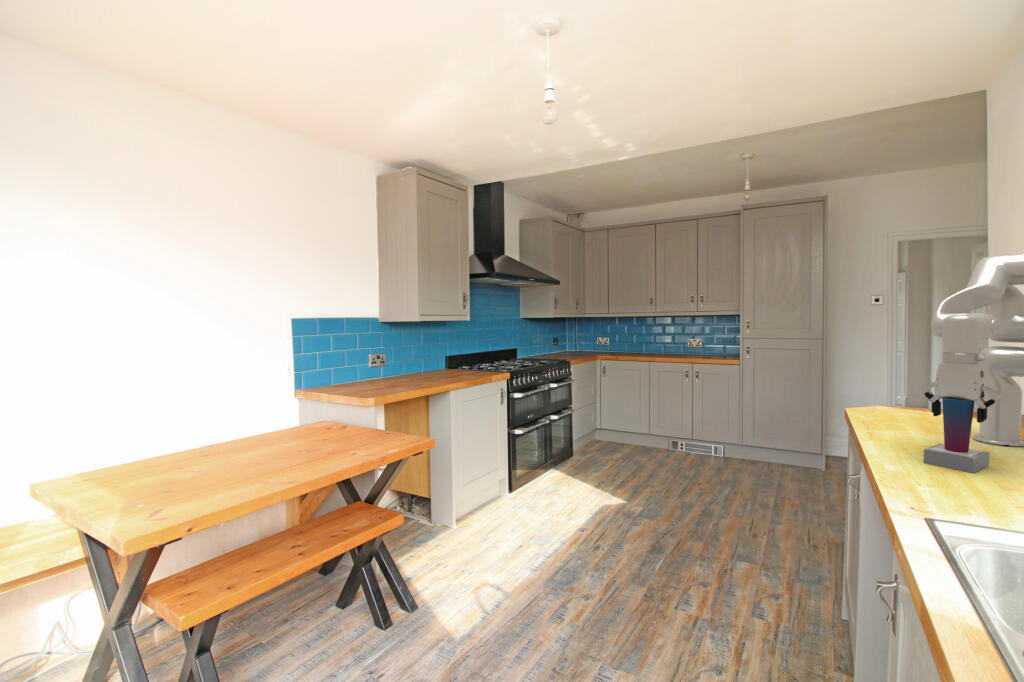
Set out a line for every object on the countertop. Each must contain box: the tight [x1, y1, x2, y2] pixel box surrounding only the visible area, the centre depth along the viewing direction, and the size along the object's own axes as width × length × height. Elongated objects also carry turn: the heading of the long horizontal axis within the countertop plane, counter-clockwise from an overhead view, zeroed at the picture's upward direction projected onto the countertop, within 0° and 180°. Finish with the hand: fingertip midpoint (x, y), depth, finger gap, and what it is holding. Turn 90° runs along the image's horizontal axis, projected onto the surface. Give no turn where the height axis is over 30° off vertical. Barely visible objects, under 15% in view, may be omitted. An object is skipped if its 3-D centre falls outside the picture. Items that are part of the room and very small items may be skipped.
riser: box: [922, 443, 990, 474], centre depth 139 cm, size 11×11×4 cm
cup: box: [941, 397, 976, 453], centre depth 139 cm, size 7×7×15 cm
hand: (958, 418), depth 139 cm, fingers open, 9 cm apart
